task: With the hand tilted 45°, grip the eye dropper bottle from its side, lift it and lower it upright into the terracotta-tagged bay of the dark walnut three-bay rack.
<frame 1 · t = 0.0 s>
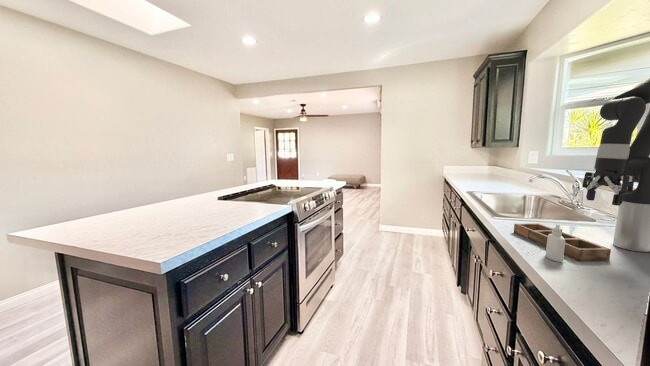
hand: (602, 202, 93), 17 cm above the worktop, tool pointing down, fingers open, 8 cm apart
eye dropper bottle: (553, 259, 87), on the worktop
walnut rack: (554, 244, 99), on the worktop
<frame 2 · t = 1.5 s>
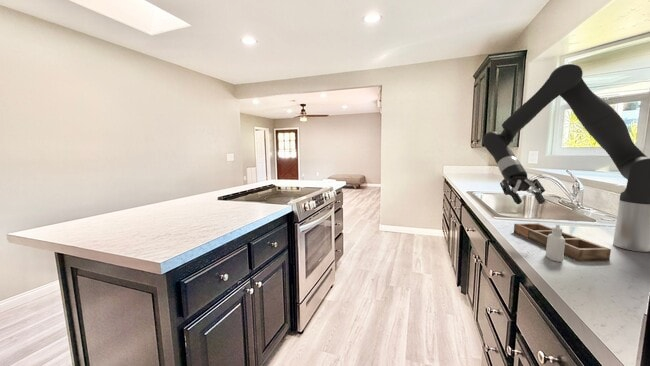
hand: (531, 203, 96), 17 cm above the worktop, tool tilted 45°, fingers open, 8 cm apart
nothing on the worktop moved.
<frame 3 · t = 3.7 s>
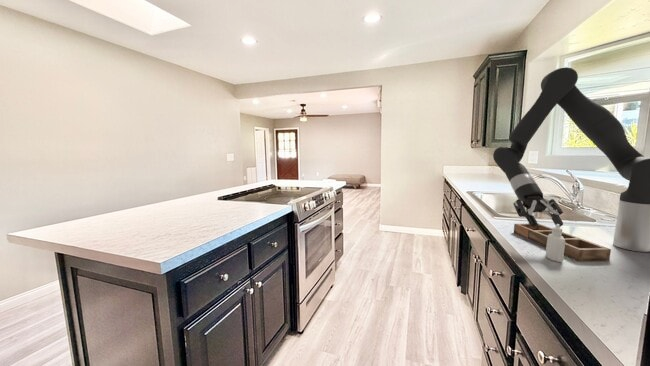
hand: (547, 226, 89), 10 cm above the worktop, tool tilted 45°, fingers open, 8 cm apart
nothing on the worktop moved.
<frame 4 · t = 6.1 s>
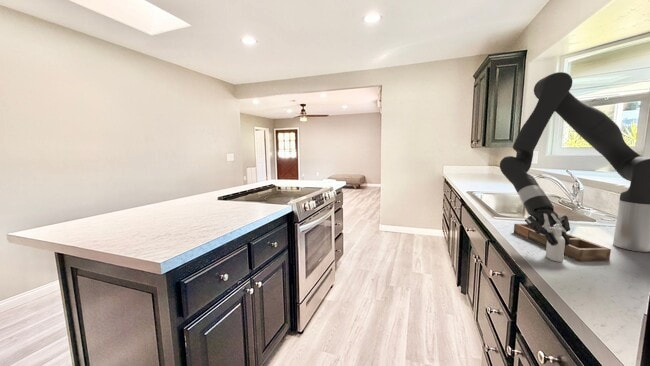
hand: (561, 244, 84), 6 cm above the worktop, tool tilted 45°, fingers closed on eye dropper bottle, 3 cm apart
eye dropper bottle: (553, 259, 87), on the worktop, touching gripper
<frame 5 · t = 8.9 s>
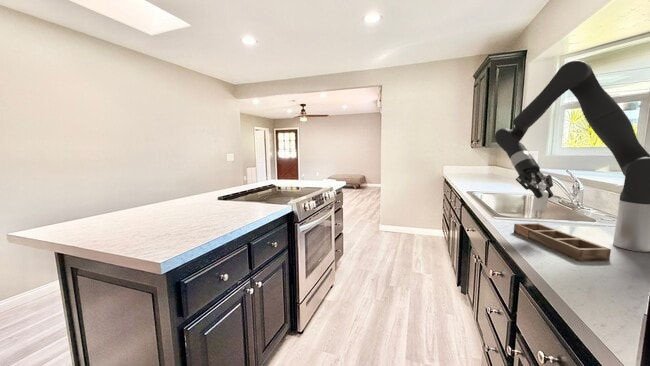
hand: (545, 196, 101), 18 cm above the worktop, tool tilted 45°, fingers closed on eye dropper bottle, 3 cm apart
eye dropper bottle: (539, 210, 104), point 12 cm above the worktop, touching gripper
when the fingers open (8 cm above the worktop, at t = 11.7 s): eye dropper bottle drops 1 cm, resting on walnut rack.
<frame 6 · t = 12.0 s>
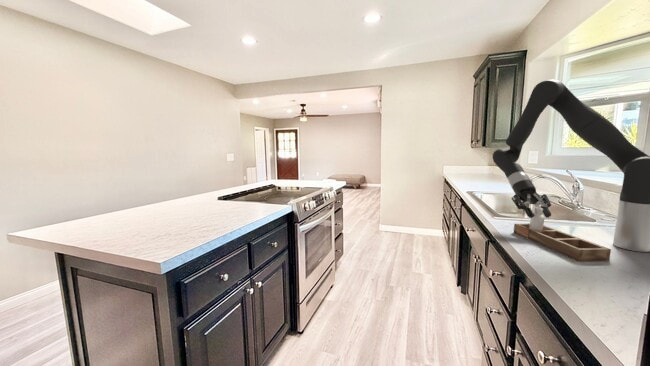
hand: (540, 216, 105), 9 cm above the worktop, tool tilted 45°, fingers open, 6 cm apart
eye dropper bottle: (534, 233, 108), point 1 cm above the worktop, touching walnut rack
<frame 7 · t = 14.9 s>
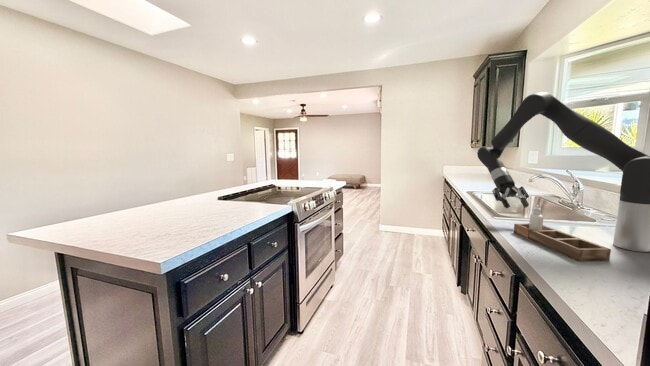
hand: (517, 207, 118), 10 cm above the worktop, tool tilted 45°, fingers open, 8 cm apart
nothing on the worktop moved.
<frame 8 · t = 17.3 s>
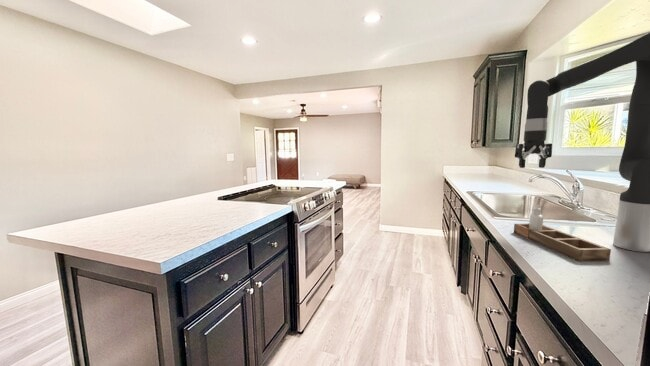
hand: (531, 167, 113), 28 cm above the worktop, tool pointing down, fingers open, 8 cm apart
nothing on the worktop moved.
at the end: eye dropper bottle 0.2 cm from the target spot on the walnut rack, point 1.1 cm above the walnut rack's base; eye dropper bottle tilted 0°; the gripper is holding nothing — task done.
